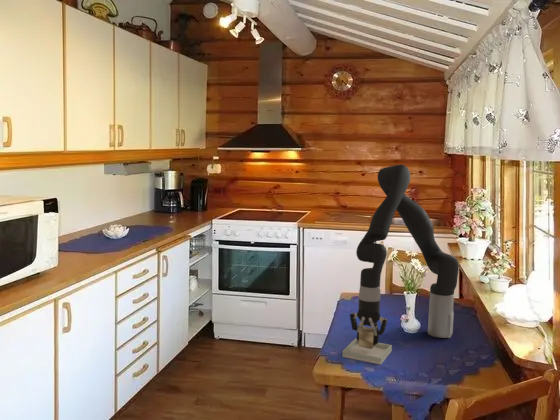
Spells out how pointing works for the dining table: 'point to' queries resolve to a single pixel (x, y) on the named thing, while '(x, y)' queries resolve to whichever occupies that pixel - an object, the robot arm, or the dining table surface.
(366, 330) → the birch block
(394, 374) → the dining table surface
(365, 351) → the dish
